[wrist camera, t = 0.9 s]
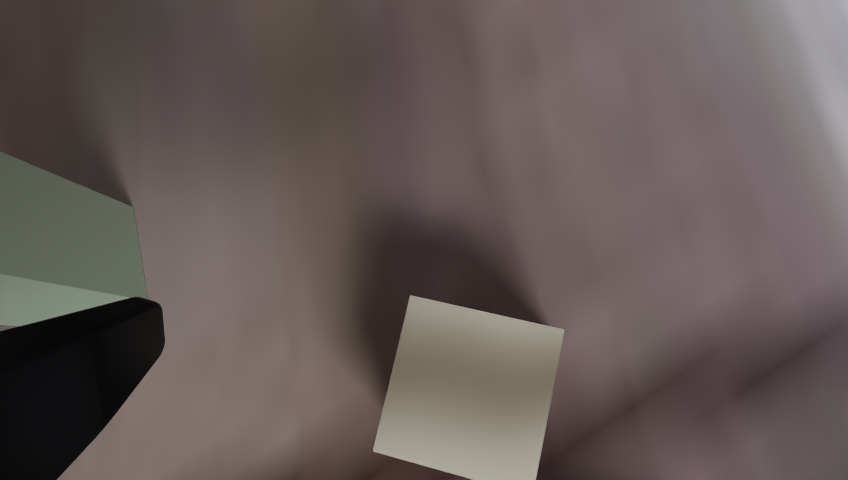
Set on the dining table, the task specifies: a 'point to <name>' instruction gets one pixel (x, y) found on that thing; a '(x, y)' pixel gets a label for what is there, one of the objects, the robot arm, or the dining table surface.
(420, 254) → the dining table surface
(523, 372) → the oatmeal cube
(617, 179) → the dining table surface
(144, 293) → the sage green block
